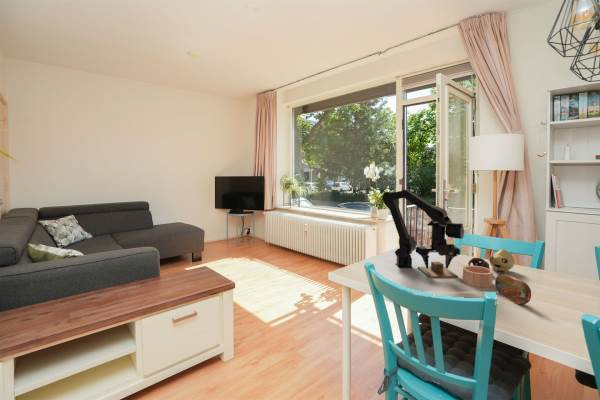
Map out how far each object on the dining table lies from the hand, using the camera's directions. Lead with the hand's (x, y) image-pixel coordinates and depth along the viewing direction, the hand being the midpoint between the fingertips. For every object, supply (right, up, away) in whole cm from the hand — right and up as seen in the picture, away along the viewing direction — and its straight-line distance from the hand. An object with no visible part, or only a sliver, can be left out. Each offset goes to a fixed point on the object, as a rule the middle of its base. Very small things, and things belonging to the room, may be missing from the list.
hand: (436, 268), depth 144 cm
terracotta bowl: (+12, -4, -12) cm, 17 cm away
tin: (+16, -6, -28) cm, 32 cm away
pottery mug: (+21, -3, +2) cm, 21 cm away
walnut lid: (0, -2, 0) cm, 2 cm away
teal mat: (0, -3, 0) cm, 3 cm away
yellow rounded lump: (+32, -2, +3) cm, 32 cm away
